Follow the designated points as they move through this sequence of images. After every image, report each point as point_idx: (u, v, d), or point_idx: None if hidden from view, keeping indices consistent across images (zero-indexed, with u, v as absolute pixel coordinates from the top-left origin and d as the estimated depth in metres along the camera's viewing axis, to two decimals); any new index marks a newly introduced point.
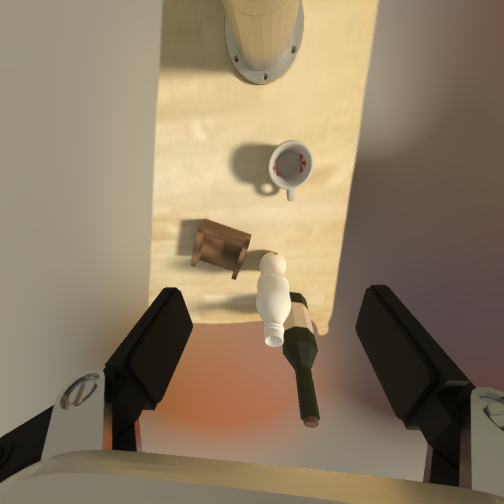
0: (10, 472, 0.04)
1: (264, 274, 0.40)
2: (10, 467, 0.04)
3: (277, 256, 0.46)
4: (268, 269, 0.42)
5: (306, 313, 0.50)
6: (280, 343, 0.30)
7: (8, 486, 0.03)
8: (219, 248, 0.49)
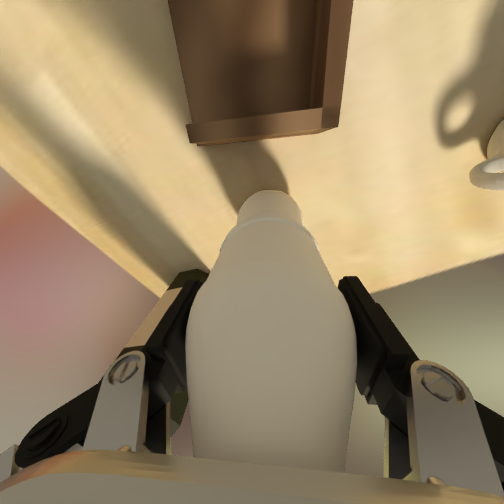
0: (63, 447, 0.05)
1: None
2: (63, 442, 0.05)
3: (302, 222, 0.19)
4: None
5: None
6: None
7: (8, 486, 0.03)
8: (245, 40, 0.15)
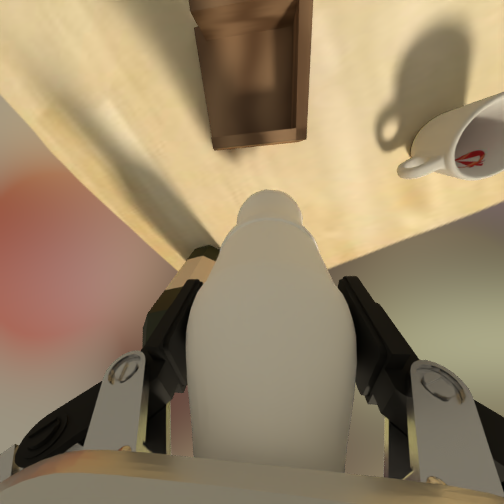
0: (63, 447, 0.05)
1: (297, 222, 0.12)
2: (63, 442, 0.05)
3: (302, 222, 0.19)
4: None
5: None
6: None
7: (8, 486, 0.03)
8: (248, 83, 0.23)
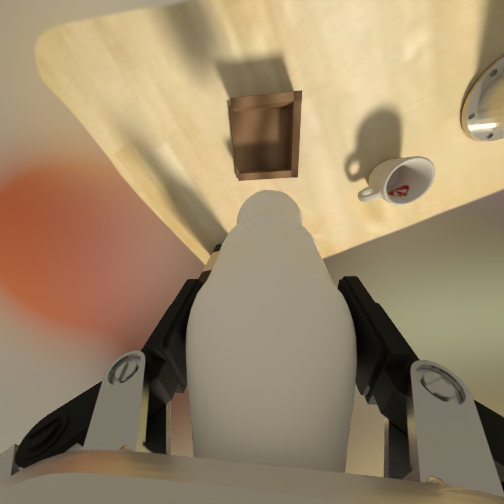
0: (63, 447, 0.05)
1: None
2: (64, 442, 0.05)
3: (302, 223, 0.19)
4: None
5: None
6: None
7: (8, 486, 0.03)
8: (261, 138, 0.35)
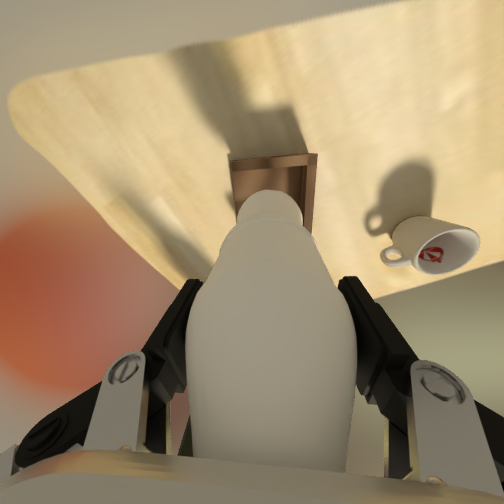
0: (63, 447, 0.05)
1: None
2: (64, 442, 0.05)
3: (302, 222, 0.19)
4: None
5: None
6: None
7: (8, 486, 0.03)
8: None
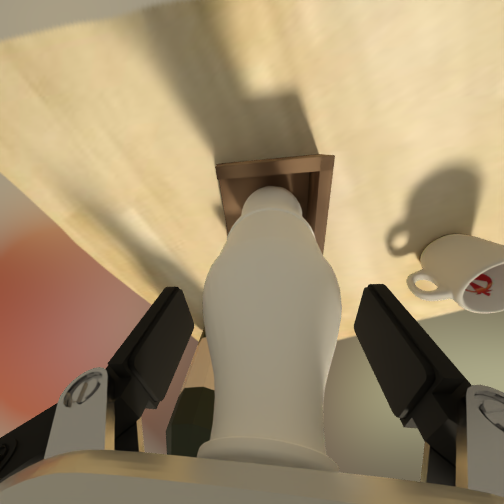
0: (14, 470, 0.04)
1: None
2: (14, 465, 0.05)
3: None
4: None
5: None
6: None
7: (8, 486, 0.03)
8: None
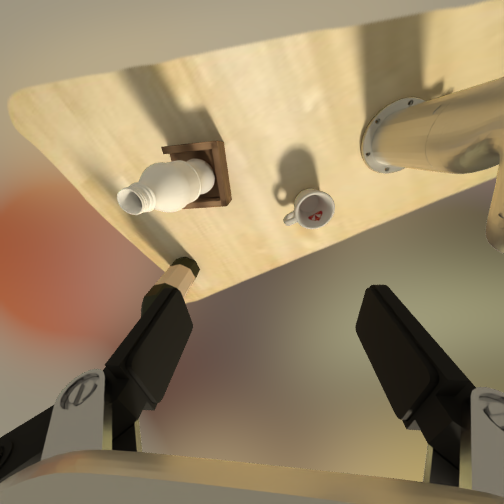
0: (10, 472, 0.04)
1: (189, 164, 0.31)
2: (10, 467, 0.04)
3: (212, 175, 0.38)
4: (196, 168, 0.33)
5: (190, 286, 0.51)
6: (133, 212, 0.21)
7: (8, 486, 0.03)
8: None
